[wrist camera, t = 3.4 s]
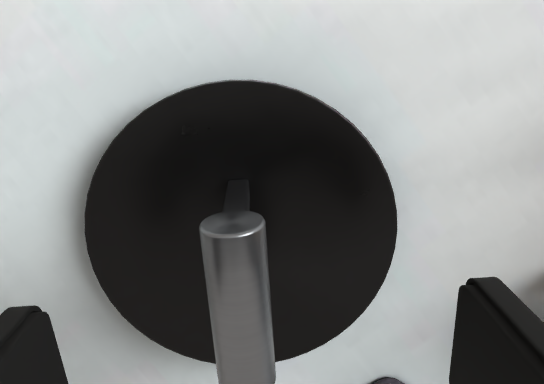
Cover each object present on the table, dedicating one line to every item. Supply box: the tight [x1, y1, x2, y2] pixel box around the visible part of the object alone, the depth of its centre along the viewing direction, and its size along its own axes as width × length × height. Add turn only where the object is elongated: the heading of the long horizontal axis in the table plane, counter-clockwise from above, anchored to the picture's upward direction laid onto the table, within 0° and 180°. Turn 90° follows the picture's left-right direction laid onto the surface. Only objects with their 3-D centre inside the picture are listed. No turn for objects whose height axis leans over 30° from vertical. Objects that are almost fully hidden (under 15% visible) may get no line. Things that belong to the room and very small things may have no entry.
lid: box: [85, 80, 397, 384], centre depth 13 cm, size 11×11×6 cm
